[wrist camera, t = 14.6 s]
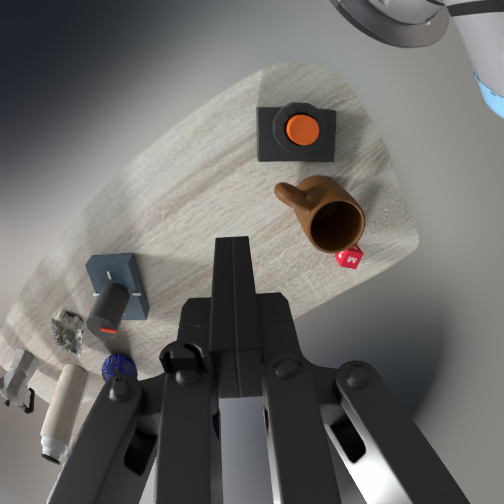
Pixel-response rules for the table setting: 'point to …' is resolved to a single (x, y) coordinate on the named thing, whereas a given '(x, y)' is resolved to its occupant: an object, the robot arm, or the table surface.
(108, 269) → the dial panel
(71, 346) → the grey jagged hollow block
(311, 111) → the push button switch
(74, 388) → the thermos bottle
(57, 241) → the table surface
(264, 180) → the table surface
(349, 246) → the mug
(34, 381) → the table surface
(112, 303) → the temp dial
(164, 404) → the robot arm
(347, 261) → the dice
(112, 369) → the ball
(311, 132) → the round orange button
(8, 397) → the coffeepot
